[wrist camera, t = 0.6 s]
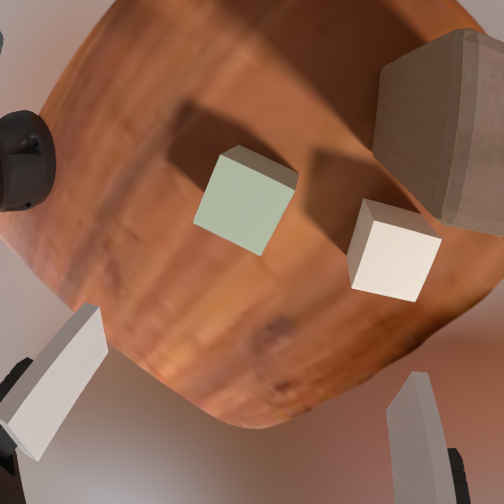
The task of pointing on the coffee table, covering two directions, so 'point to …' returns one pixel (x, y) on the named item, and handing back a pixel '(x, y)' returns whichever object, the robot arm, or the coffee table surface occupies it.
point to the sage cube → (246, 198)
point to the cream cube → (391, 251)
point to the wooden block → (447, 128)
